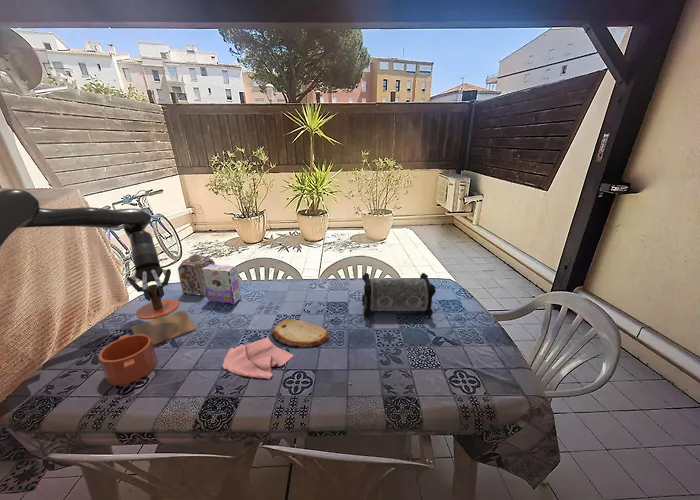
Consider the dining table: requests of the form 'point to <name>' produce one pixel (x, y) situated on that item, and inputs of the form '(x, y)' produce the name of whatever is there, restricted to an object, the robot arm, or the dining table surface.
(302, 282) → the dining table surface
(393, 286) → the speaker
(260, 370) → the cloth
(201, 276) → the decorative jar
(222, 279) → the candy box
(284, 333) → the slice of bread
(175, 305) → the lid
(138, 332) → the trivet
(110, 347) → the pot
